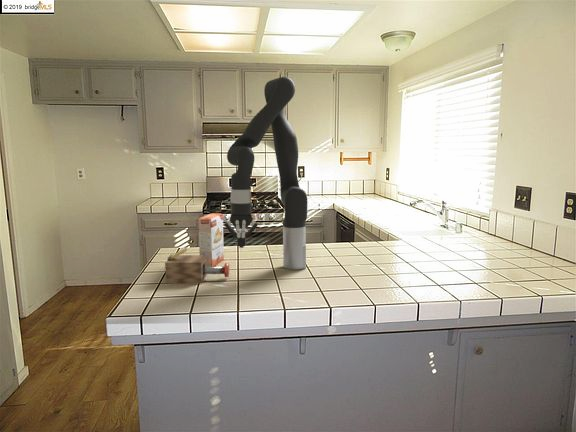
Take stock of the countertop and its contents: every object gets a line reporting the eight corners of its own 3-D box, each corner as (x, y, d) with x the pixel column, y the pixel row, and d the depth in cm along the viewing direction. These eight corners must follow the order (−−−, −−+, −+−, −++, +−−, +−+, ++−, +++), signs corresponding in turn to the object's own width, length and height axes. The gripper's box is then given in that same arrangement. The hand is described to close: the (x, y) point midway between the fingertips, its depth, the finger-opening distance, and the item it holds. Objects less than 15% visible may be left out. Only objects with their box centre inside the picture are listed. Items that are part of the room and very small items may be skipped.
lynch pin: (229, 274, 157) (229, 261, 156) (227, 279, 152) (227, 265, 151) (190, 275, 157) (189, 262, 156) (186, 279, 152) (186, 265, 151)
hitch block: (206, 275, 159) (206, 255, 158) (201, 283, 149) (200, 262, 148) (173, 275, 159) (172, 255, 158) (166, 283, 149) (164, 262, 148)
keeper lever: (187, 249, 154) (185, 246, 154) (185, 252, 150) (183, 249, 150) (171, 258, 155) (169, 255, 155) (168, 261, 151) (166, 258, 151)
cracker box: (213, 268, 168) (211, 218, 164) (199, 267, 169) (197, 218, 165) (225, 259, 181) (223, 213, 178) (212, 258, 182) (210, 212, 179)
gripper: (259, 200, 153) (259, 245, 156) (224, 199, 153) (225, 244, 156) (258, 202, 146) (258, 249, 149) (221, 202, 146) (222, 249, 149)
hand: (241, 247), depth 152 cm, fingers closed
